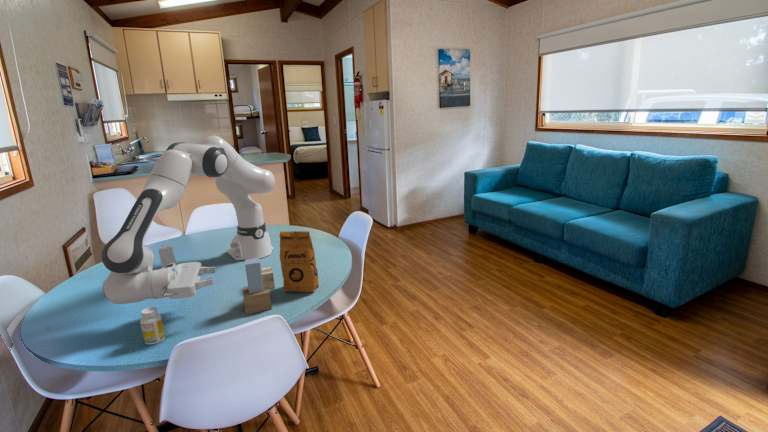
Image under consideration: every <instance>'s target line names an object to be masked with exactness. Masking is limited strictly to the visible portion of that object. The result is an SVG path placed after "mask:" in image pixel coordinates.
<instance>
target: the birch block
mask: <svg viewBox="0 0 768 432" xmlns="http://www.w3.org/2000/svg"><path fill="white" fill-rule="evenodd" d="M261 273H262V280H263V284H264V283H269V290H270V289H275V288H276V286H275V280H274V279H275V278H274V272H273V270H272V266H269V267H261Z"/></svg>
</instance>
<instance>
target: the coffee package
mask: <svg viewBox="0 0 768 432" xmlns="http://www.w3.org/2000/svg"><path fill="white" fill-rule="evenodd" d="M279 261H280V267H281V275H282V278H283V291H284V292H290V293H291V292H292V293H293V292H296V293H297V292H298V293H315V291H316V289H318V287H319V286H320V284H319V273H318V267H317V262H316V256H315V248H314V246H313V242H312V236H311V233H310V231H309V230H307V231H306V230H303V231H302V230H300V231H299V230H298V231H297V230H293V231H292V230H290V231H287V230H286V231H279Z"/></svg>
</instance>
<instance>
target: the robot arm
mask: <svg viewBox="0 0 768 432" xmlns="http://www.w3.org/2000/svg"><path fill="white" fill-rule="evenodd" d="M190 176H197V177H198V176H199V177H208V178H215V185H216V189H217V190H218V191H219V192H220V193H221V194H223V196H225V197H227V199H228V200H229V201H230V202H231V204H232V206H233V208H234V211H235V213H236V214H235V216H236V221H237V225H236V226H235V227H236V235H235V236H234V237H233V238H232V239H231V242H230V244H229V245H230V248H228V249H227V250H226V253H227V254H228V255H229V256H231V257H232V258H233V259H234V260H235V261H243V260H244V261H245V260H248V259H255V258H260V259H262V258H265V257H268V256H269V255H271V254H272V251H273V250H274V249H275V247H274V246H272V244H271V239H270V234H269V232H268V231H267V226H266V225H267V224H266V222H265V220H264V219H265V218H264V212H263V211H264V210H263V207H262V205H261V204H260V203H259V202H257V201H255V200H253V199H252V198H251V195H263V194H269V193H271V192H272V191H273V190H274V188H275V185H276V179H275V176H274V174H273V172H272V171H271V170H268V169H265V168H262V167H259V166H257V165H254V164H253V163H251V162H250V161H247V160H246V159H244V157H242V156H241V155H240V154H239V153H238V151H236V149H235V148H234V147H233V146H232V145H231V144H230V143H228V141H226V140H225V139H223V138H222V137H220V136H218V135H209V136H206V137H205V138H203V139H202V141H201V142H200V143H188V142H186V143H185V142H174V143H171V144H169V145H168V147H167V148H166V150H164V151H163V152H162V154H161V155H160V156H159V157H158V159H157V161H156V162H155V164H154V166H153V168H152V169H151V171H150V174H149V175H148V178H147V180H146V182H145V184H144V187H143V189H142V191H141V192H140V194H139V196H138V197H137V199H136V201H135V202H134V204H133V206H132V207H131V208H130V209H131V210H130V211H129V212H128V214H127V216H126V218H125V220H124V222H123V223H122V226H121V227H120V229H119V230H118V232H117V233H116V234H115V235H114V236H113V237H112V238H111V239H110V240H109V241H108V242H107V243H106V244H105V245H104V247H103V248H102V252H101V254H100V255H101V257H100V258H101V262H102V264H103V265H104V267H105V268H106V269H107V270H108V271H110V273H109V274H108V276H107V277H106V279H104V280H103V282H102V291H103V294H104V296H105V298H106V300H107V301H108V302H110V303H111V304H115V305H116V304H117V305H124V304H126V305H127V304H132V303H134V304H135V303H140V302H143V301H145V300H158V299H165V298H168V299H171V300H177V299H186V298H191V297H194V296H196V295H197V291H198V290H202V289H203V288H206V287H208V286H213V285H214V278H213V277H209V278H206V279H204V280H201V277H202V275H206V274H216V272H217V270H216V268H217V267H216V266H202V263H201V262H199V261H193V262H190V261H189V262H182V263H178V264H177V263H176V265H175V263H172V264H168V265H167V266H165V267H163V268H162V267H161V268H159V269H154V265H155V255H154V252H153V251H152V250H151V248H150V247H148V246H146V245H145V244H144V240H145V238H146V235H147V233H148V231H149V229H150V228H151V225H152V223H153V221H154V220H155V218H156V216H157V215H158V214H159V213H160V212H163V211H164V210H170V209H172V208H174V207H175V206H177V205H178V203H179V202H180V201H181V199H182V197H183V195H184V193H185V191H186V189H187V186H188V183H189V180H190Z"/></svg>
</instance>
